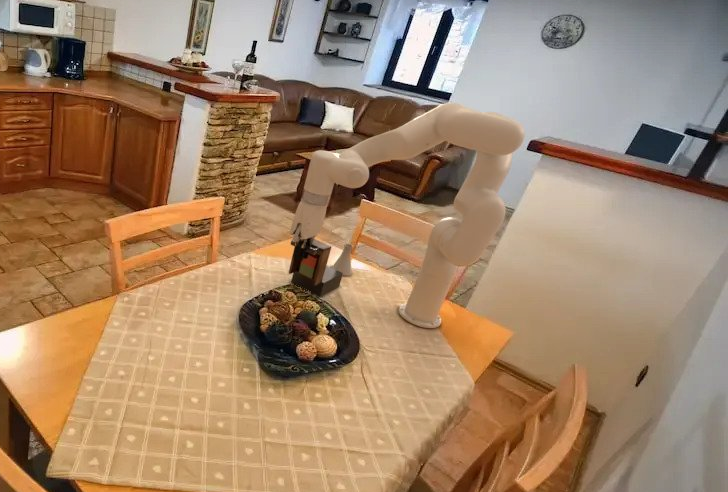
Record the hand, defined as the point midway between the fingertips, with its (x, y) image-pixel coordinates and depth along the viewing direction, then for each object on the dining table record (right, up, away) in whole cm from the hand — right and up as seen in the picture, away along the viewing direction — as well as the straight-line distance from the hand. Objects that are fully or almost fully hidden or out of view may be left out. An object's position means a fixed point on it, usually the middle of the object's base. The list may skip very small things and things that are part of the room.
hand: (300, 257), depth 145 cm
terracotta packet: (+4, 0, +6) cm, 7 cm away
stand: (+7, -8, +16) cm, 19 cm away
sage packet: (+4, -3, +8) cm, 9 cm away
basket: (+5, 0, +6) cm, 8 cm away
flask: (+18, -3, +28) cm, 34 cm away
